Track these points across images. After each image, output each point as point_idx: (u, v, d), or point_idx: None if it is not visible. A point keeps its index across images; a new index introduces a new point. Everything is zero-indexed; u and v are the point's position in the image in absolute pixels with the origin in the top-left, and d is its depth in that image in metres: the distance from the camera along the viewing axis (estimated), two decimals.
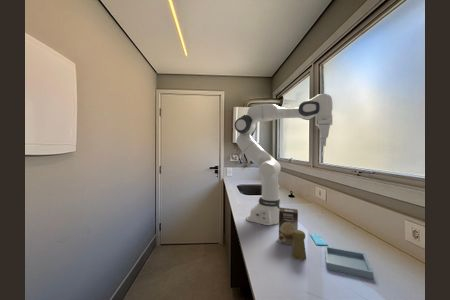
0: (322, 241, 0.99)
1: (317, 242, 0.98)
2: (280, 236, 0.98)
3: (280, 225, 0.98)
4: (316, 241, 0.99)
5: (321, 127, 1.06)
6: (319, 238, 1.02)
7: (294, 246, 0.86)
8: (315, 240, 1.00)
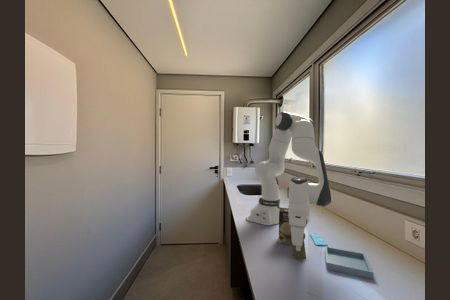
0: (322, 241, 0.99)
1: (317, 242, 0.98)
2: (280, 236, 0.98)
3: (280, 225, 0.98)
4: (316, 241, 0.99)
5: (293, 231, 0.78)
6: (319, 238, 1.01)
7: (294, 246, 0.86)
8: (315, 240, 1.00)
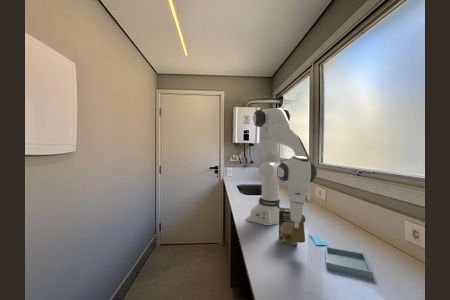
0: (322, 241, 0.98)
1: (317, 242, 0.98)
2: (280, 236, 0.98)
3: (280, 225, 0.98)
4: (316, 241, 0.99)
5: (292, 207, 0.78)
6: (319, 238, 1.01)
7: (293, 229, 0.86)
8: (315, 240, 1.00)
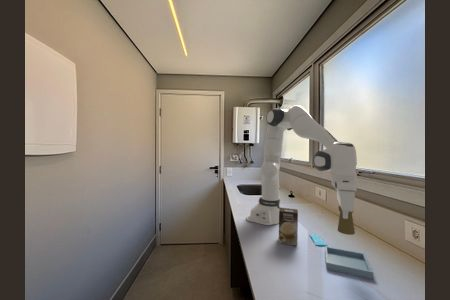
0: (322, 241, 0.98)
1: (317, 242, 0.97)
2: (280, 236, 0.98)
3: (280, 225, 0.98)
4: (316, 241, 0.98)
5: (342, 196, 0.72)
6: (319, 239, 1.01)
7: (341, 220, 0.80)
8: (315, 240, 1.00)
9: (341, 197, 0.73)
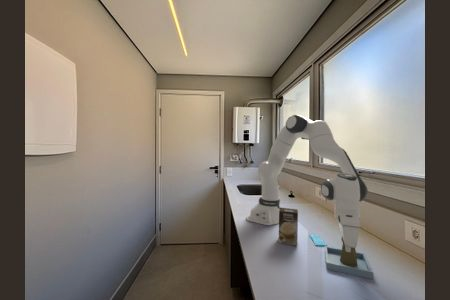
0: (321, 242, 0.98)
1: (316, 243, 0.97)
2: (280, 236, 0.98)
3: (280, 225, 0.98)
4: (315, 242, 0.98)
5: (346, 231, 0.72)
6: (319, 239, 1.01)
7: (344, 252, 0.80)
8: (314, 241, 0.99)
9: (344, 233, 0.72)
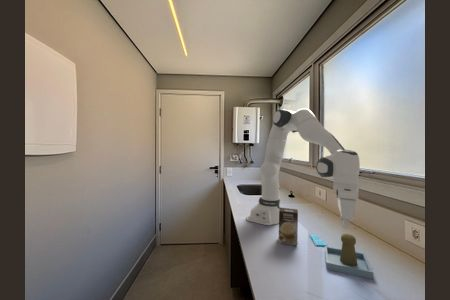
0: (321, 242, 0.98)
1: (316, 243, 0.97)
2: (280, 236, 0.98)
3: (280, 225, 0.98)
4: (315, 242, 0.98)
5: (343, 204, 0.72)
6: (319, 239, 1.01)
7: (345, 252, 0.80)
8: (314, 241, 0.99)
9: (342, 205, 0.72)
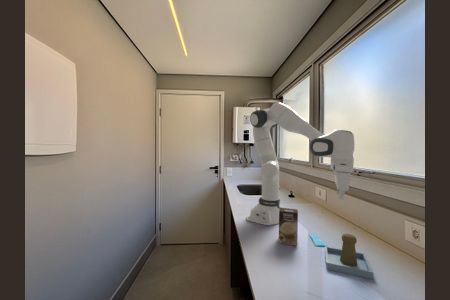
0: (321, 242, 0.98)
1: (316, 243, 0.97)
2: (280, 236, 0.98)
3: (280, 225, 0.98)
4: (315, 242, 0.98)
5: (339, 176, 0.80)
6: (319, 239, 1.01)
7: (345, 251, 0.80)
8: (314, 241, 0.99)
9: (338, 177, 0.81)
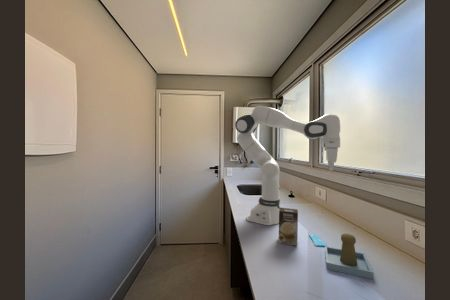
0: (321, 242, 0.98)
1: (316, 243, 0.97)
2: (280, 236, 0.98)
3: (280, 225, 0.98)
4: (315, 242, 0.98)
5: (329, 151, 1.00)
6: (318, 239, 1.01)
7: (345, 251, 0.80)
8: (314, 241, 0.99)
9: (328, 152, 1.00)
